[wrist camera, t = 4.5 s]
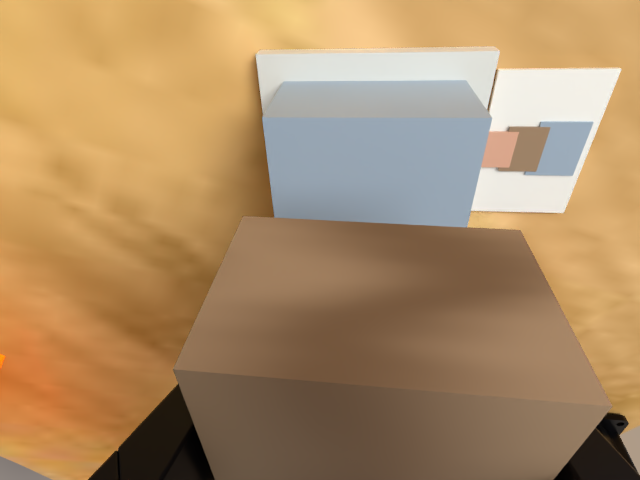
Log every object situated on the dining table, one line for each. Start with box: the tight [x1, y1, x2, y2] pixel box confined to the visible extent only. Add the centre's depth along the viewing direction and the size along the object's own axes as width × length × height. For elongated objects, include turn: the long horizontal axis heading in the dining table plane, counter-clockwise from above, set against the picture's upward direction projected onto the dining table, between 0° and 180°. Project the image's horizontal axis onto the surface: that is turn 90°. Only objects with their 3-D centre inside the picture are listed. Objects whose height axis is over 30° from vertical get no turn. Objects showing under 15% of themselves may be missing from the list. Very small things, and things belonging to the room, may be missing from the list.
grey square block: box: [256, 46, 500, 227], centre depth 16 cm, size 9×9×5 cm
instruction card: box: [471, 68, 621, 213], centre depth 17 cm, size 4×6×1 cm
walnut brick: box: [173, 216, 612, 480], centre depth 9 cm, size 6×6×4 cm
